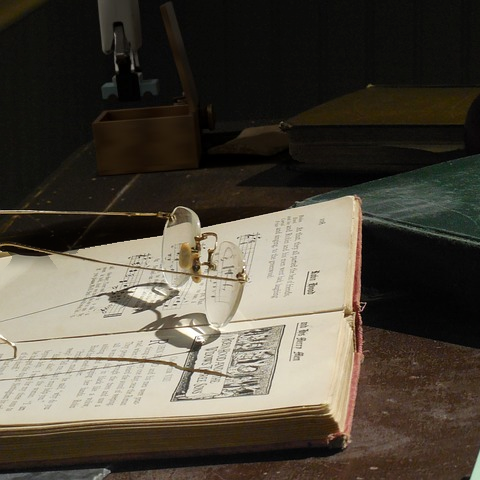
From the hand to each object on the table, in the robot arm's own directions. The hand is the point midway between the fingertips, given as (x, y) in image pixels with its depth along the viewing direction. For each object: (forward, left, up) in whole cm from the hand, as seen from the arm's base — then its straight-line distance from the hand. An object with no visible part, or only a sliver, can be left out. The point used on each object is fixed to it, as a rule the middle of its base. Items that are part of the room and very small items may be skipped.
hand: (131, 97), depth 142 cm
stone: (+18, +3, -11) cm, 21 cm away
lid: (+7, 0, +5) cm, 9 cm away
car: (0, 0, 0) cm, 0 cm away
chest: (+2, 0, -10) cm, 11 cm away
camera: (+8, +14, -11) cm, 20 cm away
